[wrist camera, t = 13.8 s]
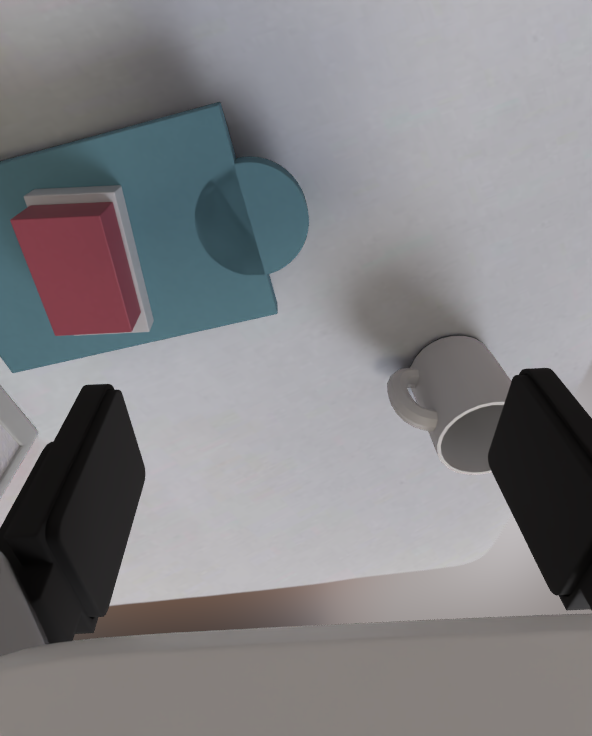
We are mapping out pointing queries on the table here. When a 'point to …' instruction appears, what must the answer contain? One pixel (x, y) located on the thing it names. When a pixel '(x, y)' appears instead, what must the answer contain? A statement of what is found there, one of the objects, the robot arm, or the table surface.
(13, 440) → the red-striped rounded block
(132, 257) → the maroon block on base
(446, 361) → the cup
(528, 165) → the table surface
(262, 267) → the board
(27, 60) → the table surface
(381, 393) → the table surface
